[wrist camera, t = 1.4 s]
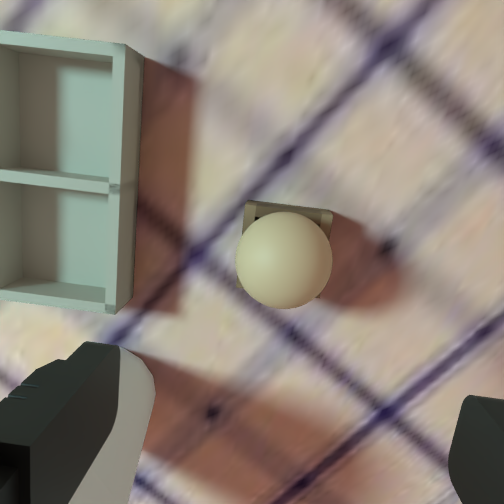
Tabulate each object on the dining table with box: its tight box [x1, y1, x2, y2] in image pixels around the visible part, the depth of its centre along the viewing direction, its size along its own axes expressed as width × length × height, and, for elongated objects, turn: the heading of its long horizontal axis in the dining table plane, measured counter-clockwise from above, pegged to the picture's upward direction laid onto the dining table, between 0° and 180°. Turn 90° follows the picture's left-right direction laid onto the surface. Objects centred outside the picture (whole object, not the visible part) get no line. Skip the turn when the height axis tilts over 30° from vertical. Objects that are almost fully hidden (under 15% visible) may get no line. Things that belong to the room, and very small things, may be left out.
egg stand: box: [236, 200, 333, 298], centre depth 25 cm, size 5×5×2 cm
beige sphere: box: [235, 212, 333, 309], centre depth 22 cm, size 5×5×5 cm
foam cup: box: [68, 347, 156, 504], centre depth 23 cm, size 10×9×13 cm
